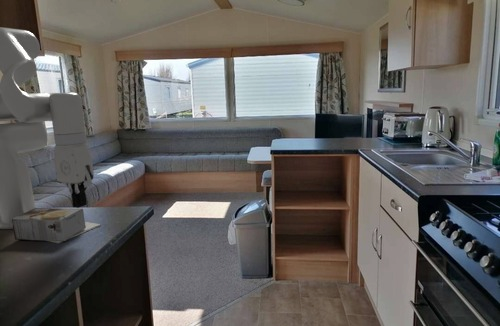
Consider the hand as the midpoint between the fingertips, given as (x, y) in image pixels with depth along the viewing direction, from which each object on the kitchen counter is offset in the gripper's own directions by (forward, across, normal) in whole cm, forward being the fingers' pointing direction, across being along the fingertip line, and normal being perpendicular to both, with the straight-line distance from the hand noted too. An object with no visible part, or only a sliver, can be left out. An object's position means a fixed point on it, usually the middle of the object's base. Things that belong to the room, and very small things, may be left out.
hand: (80, 205), depth 100 cm
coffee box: (+5, -2, -1) cm, 6 cm away
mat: (+9, -10, +1) cm, 14 cm away
